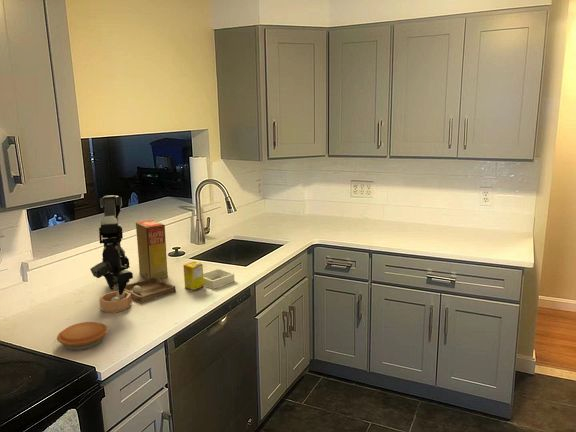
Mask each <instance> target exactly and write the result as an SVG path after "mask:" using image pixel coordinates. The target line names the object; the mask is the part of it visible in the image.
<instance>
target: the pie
mask: <svg viewBox="0 0 576 432" xmlns="http://www.w3.org/2000/svg"><path fill="white" fill-rule="evenodd" d="M107 332H108V328H107V326H106V324H104V323H100V322H96V321H95V322H94V321H84V322H78V323H75V324H72V325H69V326H67V327H66V328H65V329H63V330H61V331H60V332H59V333H58V335H57V336H56V340H57V342H58V343H60V344H61V345H63V346H64V347H65V349H67V350H70V351H84V350H87V349H92V348H94V347H96V346H98V345H99V344H100V343H101V342H102V340H103V339H104V336H105V335H106V334H107Z"/></svg>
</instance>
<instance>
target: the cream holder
mask: <svg viewBox="0 0 576 432" xmlns="http://www.w3.org/2000/svg"><path fill="white" fill-rule="evenodd" d="M218 277H219V278H218ZM203 281H204V287H206V288H210V289H214V290H215V289H217V288H220V287H222V286H225V285H228V284H231V283H234V281H236V280H235V273H234V272H231V271H228V270H225V269H222V268H215V269H212V270H209V271H208V270H207V271H205V272H203Z"/></svg>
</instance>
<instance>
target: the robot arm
mask: <svg viewBox="0 0 576 432" xmlns="http://www.w3.org/2000/svg"><path fill="white" fill-rule="evenodd" d="M99 203H100V208H101V209H102V210H103V214H104V218H102V220H101V221H100V226H99V227H98V230H99V231H98V237H99V244H103V250H102V254H101V255H102V259H101V260H102V261H101V262H99V263H97V264H95V265H94V266H93V267H91V268H90V272H91V274H92V275H93V277H95V278H96V279H100V278H102V277H104V279H105V280H106V284H107V286H108V288H109V290H110V291H113V290H114V288H115V286H116V288H117V291H118V292H119V295H122V294H123V291H124V289H125V286H126V285H128V282H130V280H131V279H134V274H133V272H132V271H130V270H128V269H129V268H131V267H130V259H129V258H128V257H127V255H126V252H125V250H124V248H123V247H122V246H121V242H122V240H123V239H124V237H123V235H124V234H123V227H122V225H121V224H119V214H120V213H121V211H122V209H121V207H123V201H122V197H121V196H119V195H104V196H103V197H101V198H99Z"/></svg>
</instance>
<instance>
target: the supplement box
mask: <svg viewBox="0 0 576 432" xmlns="http://www.w3.org/2000/svg"><path fill="white" fill-rule="evenodd" d="M203 268H204V267H203V263H200V262H197V261H191V262H188V263H185V264H183V277H184V290H185V289H186V290H188V291H191V292H196V291H198V290H202V289H203V288H205V286H204V281H203V273H204V269H203Z"/></svg>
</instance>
